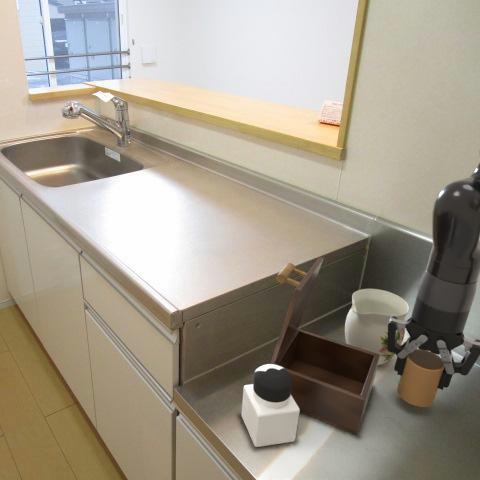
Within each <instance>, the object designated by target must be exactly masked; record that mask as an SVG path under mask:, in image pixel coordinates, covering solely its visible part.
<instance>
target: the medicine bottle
mask: <svg viewBox="0 0 480 480" xmlns="http://www.w3.org/2000/svg"><path fill="white" fill-rule="evenodd" d="M253 375H254V376H253V383H251V384H245V385H244V386H243V389H242V390H243V391H242V404H241V418H242V421H243V423H244V425H245V427H246V430H247V432H248V434H249V437H250V439H251V441H252V443H253V446H254V447H255V448H261V447H267V446H273V445H280V444H286V443H292V442H296V440H297V439H296V438H297V432H298V427H299V426H298V425H299V420H300V414H301V412H300V409H299V407H298V406H297V404H296V402H295V401H294V399H293V397H292V396H291V388H292V381H293V380H292V376H291V374H290V373H289V372H288V371H287V370H286V369H285V368H283V367H281V366H278V365H274V364H272V363H267V364H262V365H261V366H259V367H257V368H256V369H255V370H254V373H253Z"/></svg>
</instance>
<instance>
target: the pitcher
mask: <svg viewBox="0 0 480 480" xmlns="http://www.w3.org/2000/svg"><path fill="white" fill-rule="evenodd" d="M351 301H352V302H351V304H352V305H351V307H350V309H349V311H348V312H347V315H346V317H345V323H344V336H345V337H344V338H345V342H346V343H345V344H348V345H351V346H355V347H358V348H361V349H364V350H367V351H370V352H373V353H377V354H380V357H379V361H378V366H382V365H384V364H386V363H387V362H389V361H390V360H392V359H393V358H394V357H395V355H396V354H395V353H393V352H389V351H388V350H387V338H388V323H389V320H390V317H391V316H395V317H397V319H398V320H403V321H405V318H406V316H407V314H408V313H409V310H410V306H409V304H408V301H406V300H405V299H404V298H403V297H401V296H400V295H397V294H395V293H393V292H390V291H388V290H385V289H384V290H383V289H379V288H362V289H358V290H356V291H354V292H353V293H352V294H351ZM405 335H406V328H403V329H402V330H401V332H399V333H397V343H398V344H399V345H402V344H403V343H404V342H403V341H404V339H405Z"/></svg>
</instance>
